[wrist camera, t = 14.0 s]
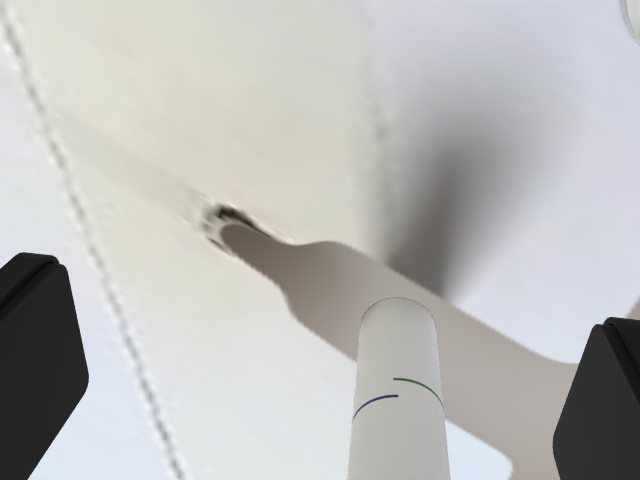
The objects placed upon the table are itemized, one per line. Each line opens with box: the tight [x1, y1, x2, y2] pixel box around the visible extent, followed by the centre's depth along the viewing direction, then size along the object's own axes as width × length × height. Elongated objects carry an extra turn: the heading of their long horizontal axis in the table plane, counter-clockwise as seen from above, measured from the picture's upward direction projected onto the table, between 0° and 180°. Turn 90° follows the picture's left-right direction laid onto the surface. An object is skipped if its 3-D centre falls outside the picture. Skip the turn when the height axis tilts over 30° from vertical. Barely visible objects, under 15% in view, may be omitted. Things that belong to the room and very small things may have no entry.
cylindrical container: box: [347, 298, 450, 480], centre depth 44 cm, size 7×7×25 cm
